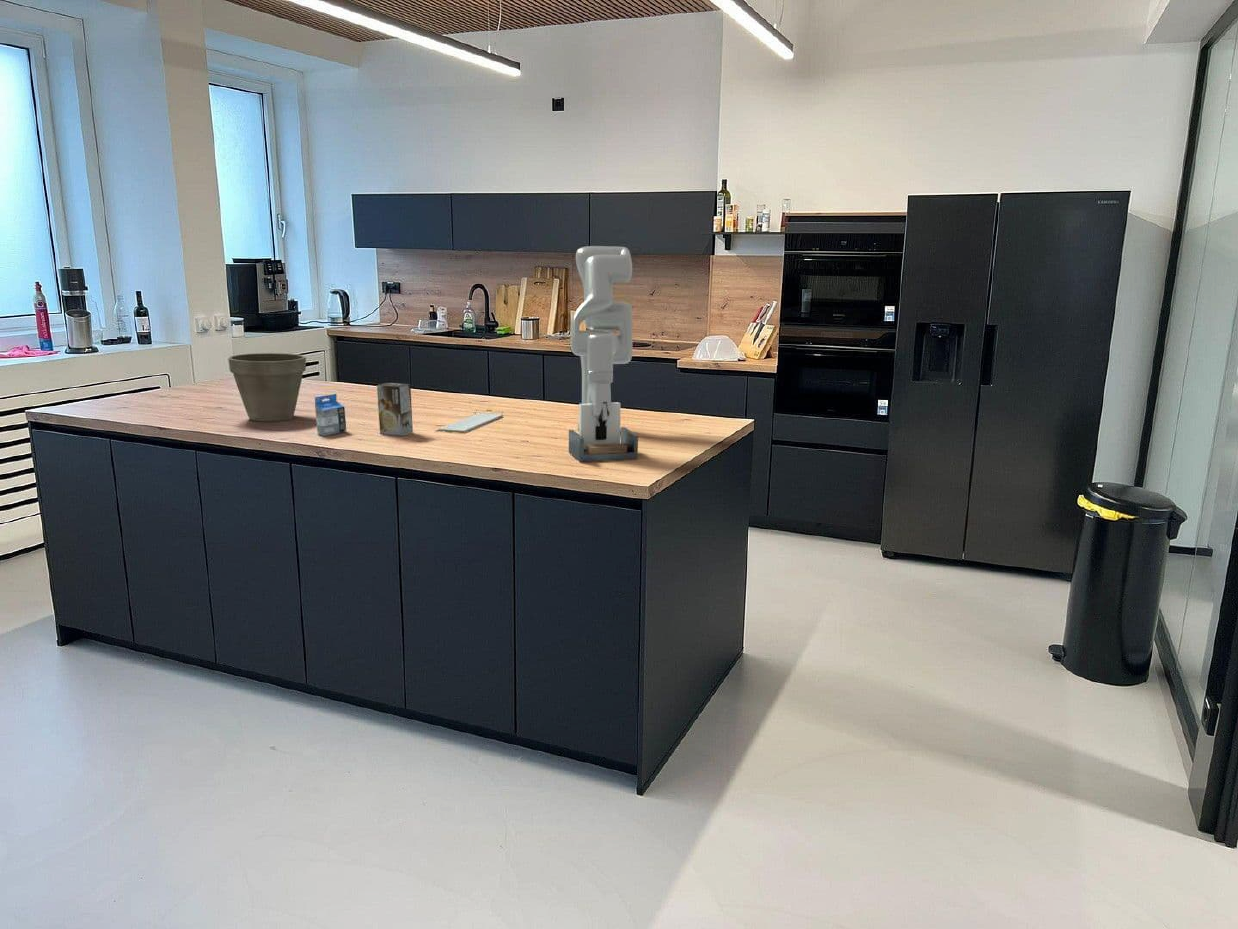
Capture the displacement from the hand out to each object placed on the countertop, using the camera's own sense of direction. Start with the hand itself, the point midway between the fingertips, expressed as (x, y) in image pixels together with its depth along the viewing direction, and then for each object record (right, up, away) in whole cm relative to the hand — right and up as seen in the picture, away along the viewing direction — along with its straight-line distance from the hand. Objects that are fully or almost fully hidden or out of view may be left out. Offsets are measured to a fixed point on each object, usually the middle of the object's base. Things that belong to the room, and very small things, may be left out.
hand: (599, 437), depth 257 cm
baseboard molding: (-46, +5, +43) cm, 63 cm away
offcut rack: (+1, -5, -2) cm, 6 cm away
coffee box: (-67, +2, +25) cm, 71 cm away
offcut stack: (+1, -6, -4) cm, 8 cm away
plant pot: (-116, +8, +48) cm, 126 cm away
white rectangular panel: (0, -5, +1) cm, 5 cm away
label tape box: (-87, +2, +24) cm, 91 cm away
